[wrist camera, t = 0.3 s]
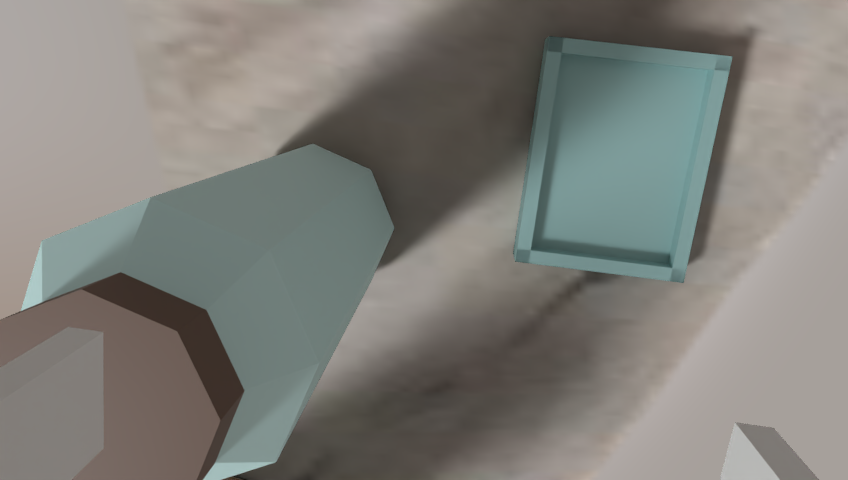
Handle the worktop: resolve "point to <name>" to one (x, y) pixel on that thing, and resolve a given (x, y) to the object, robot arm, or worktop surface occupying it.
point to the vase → (232, 478)
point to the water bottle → (211, 309)
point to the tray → (619, 157)
